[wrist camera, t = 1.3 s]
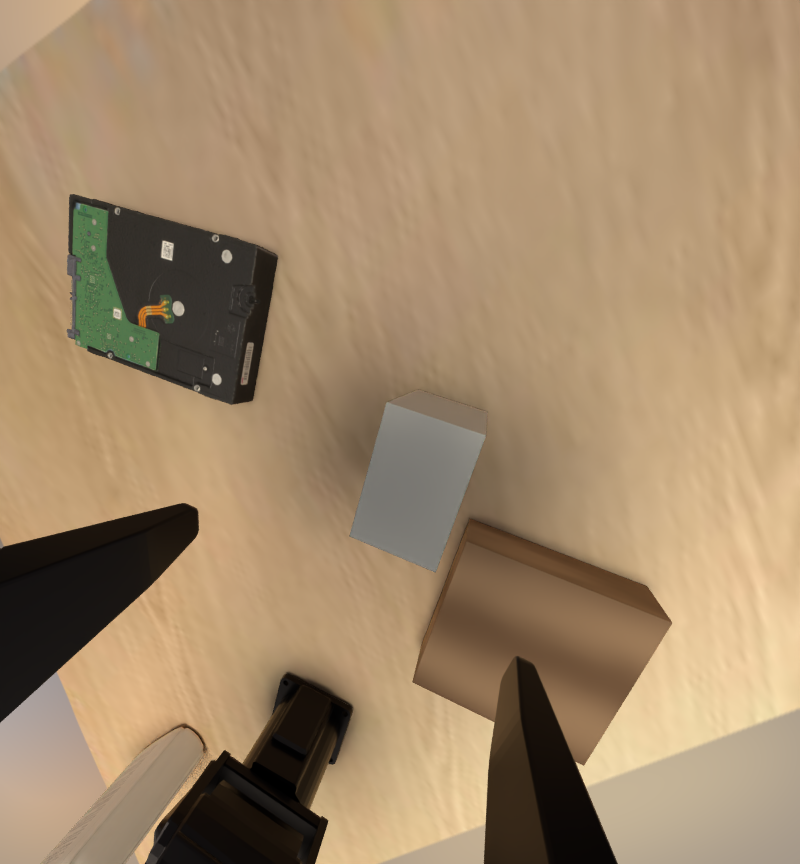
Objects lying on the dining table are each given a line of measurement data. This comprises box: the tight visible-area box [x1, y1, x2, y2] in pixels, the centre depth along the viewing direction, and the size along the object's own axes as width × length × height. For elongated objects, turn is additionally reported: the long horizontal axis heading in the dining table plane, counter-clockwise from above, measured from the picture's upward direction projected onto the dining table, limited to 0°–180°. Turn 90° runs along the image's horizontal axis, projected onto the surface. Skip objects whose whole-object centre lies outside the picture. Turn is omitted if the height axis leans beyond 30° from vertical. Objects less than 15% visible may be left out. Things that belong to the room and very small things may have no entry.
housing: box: [350, 390, 488, 572], centre depth 19 cm, size 7×4×7 cm, turn 164°
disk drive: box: [67, 194, 278, 405], centre depth 24 cm, size 10×3×15 cm
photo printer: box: [41, 727, 204, 864], centre depth 30 cm, size 10×4×12 cm, turn 132°
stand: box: [413, 519, 672, 765], centre depth 22 cm, size 11×11×3 cm
